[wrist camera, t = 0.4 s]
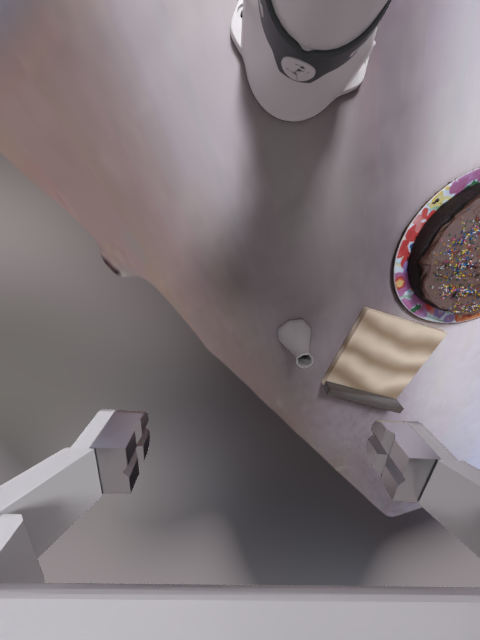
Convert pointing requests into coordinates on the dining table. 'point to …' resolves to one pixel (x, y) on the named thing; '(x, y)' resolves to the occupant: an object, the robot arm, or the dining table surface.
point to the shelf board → (380, 359)
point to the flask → (297, 341)
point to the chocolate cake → (443, 255)
